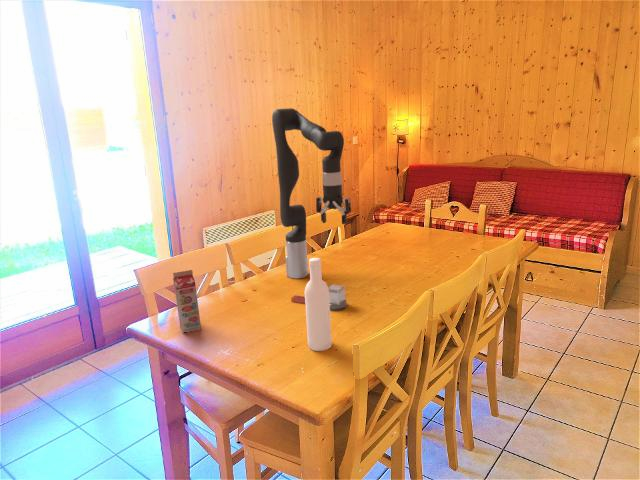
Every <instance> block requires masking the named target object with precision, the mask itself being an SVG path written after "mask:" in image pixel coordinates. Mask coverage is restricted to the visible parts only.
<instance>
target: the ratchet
mask: <svg viewBox="0 0 640 480" xmlns="http://www.w3.org/2000/svg"><path fill="white" fill-rule="evenodd" d="M291 303H297V304H303V305H305V296H303V295H293V296H292V297H291ZM347 303H348V302H347V300H346V299H345V301H344V302H343V303H341V304H340V305H333V304H330V312H331V311H332V312H336V311H337V312H339V311H343V310H345V309H346V308H347V306H348V305H347Z"/></svg>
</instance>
